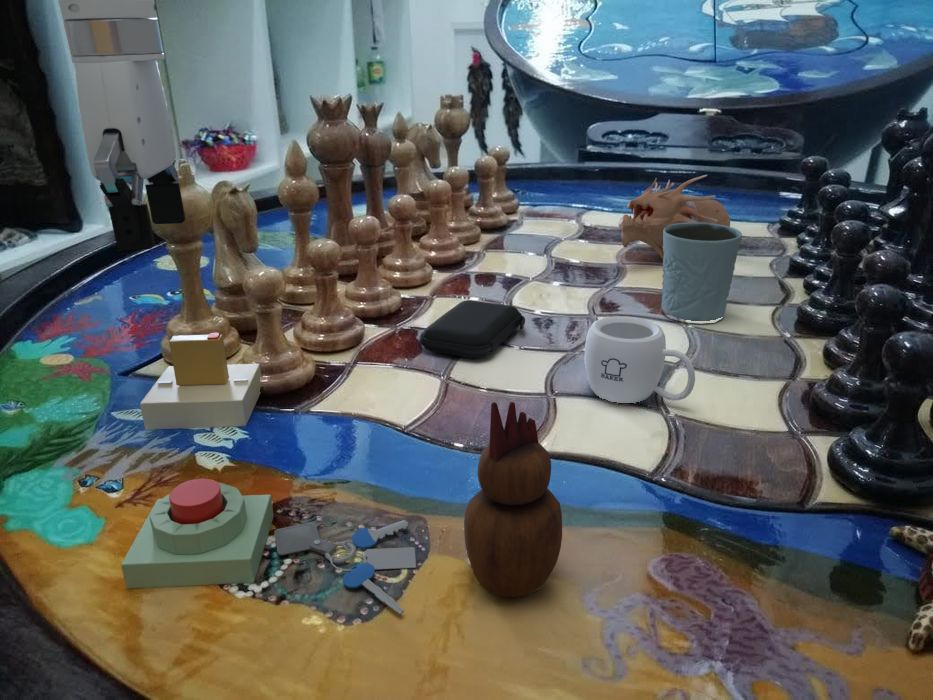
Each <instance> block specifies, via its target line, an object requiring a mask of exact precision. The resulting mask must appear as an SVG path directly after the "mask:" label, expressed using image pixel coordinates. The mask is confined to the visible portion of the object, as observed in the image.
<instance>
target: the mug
mask: <svg viewBox="0 0 933 700" xmlns="http://www.w3.org/2000/svg"><path fill="white" fill-rule="evenodd" d="M666 341H667V340H666V335H665V333H664V330H663V328H662V327H661V326H660V325H659V324H657V323H655V322H653V321H650V320H647V319H645V318H641V317H636V316H627V315H616V316H615V315H614V316H608V317H603V318H599V319H597V320H595V321H593V322H592V323H591V325H590V327H589V329H588V330H587V333H586V338H585V345H584V369H585V374H586V378H587V382H588V384H589V387H590V389H591V390H592V392H593V393H594V394H595V396H597V397H598V396H599V398H600V399H601V398H602V399H601V400H603V399H606V400H608V401H612V402H617V403H616V404H618V403H634V404H637V403H636V402H639V403H641V402H640V401H642V402H644V401H646V400H647V399H648V398H649V397H650V396H651V395H652V394H653V393H654V392H655V393H656V394H658V395H659V396H660V397H662V398H664V399H666V400H670V401H682V400H684V399H686V398H688V397H689V396H690V394H692V391H693V389H694V387H695V382H696V372H695V368H694V366H693V364H692V361H691V359H690V358H689V357H688V356H687V355H686V353H683V352H681V351H680V350H677V349H667V344H666ZM666 357H675V358H677V359H679V360H680V361H682V363H683V364H684V366H685V368H686V371H687V382H686V385H685V387H684V389H683V390H682V391H681V392H679V393H672V392H671V393H670V392H668V391H667V390H665V389H663V388H662V387H661V386H658V385H659V382H660V380H661V377H662V375H663V371H664V367H665V362H666ZM606 400H605V401H606ZM643 400H644V401H643ZM608 401H607V402H608ZM612 402H611V403H612Z"/></svg>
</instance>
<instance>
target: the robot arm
mask: <svg viewBox="0 0 933 700" xmlns="http://www.w3.org/2000/svg"><path fill="white" fill-rule="evenodd" d="M155 2H156V1H155V0H58V3H59V7H60V12H61V17H62V21H63V27H64V31H65V35H66V39H67V45H68V48H69V49H68V50H69V53H70V54H69V55H70V58H71V62H72V64H75V77H76V78H75V79H76V91H77V100H78V108H79V115H80V120H81V127H82V133H83V139H84V145H85V151H86V156H87V160H88V165H89V170H90V173H91V175H92V177H93V178H94V179H95V180H97V181H99V182H100V183H99V188H100V190H101V191H102V193H103V194H104V203H105V205H106V207H107V208H108V212H109V217H110V221H111V225H112V230H113V234H114V239H115V244H116V247H117V249H118V250H119V251H132V250H133V251H134V250H135V251H136V250H151V249H153V248H154V247H155V246H156V241H155V236H154V231H153V226H152V223H153V224H155V225H170V224H171V225H172V224H174V225H175V224H183V223H184V222H185V221H186V215H185V209H184V203H183V196H182V191H181V186H180V183H179V179H180V177H179V172H178V171H177V168H176V166H175V164H176V161H177V160H176V158H177V157H176V156H177V155H176V145H175V144H176V143H175V139H174V138H175V137H174V132H173V126H172V121H171V116H170V112H169V111H170V110H169V107H168V103H167V102H168V101H167V98H166V93H165V89H164V86H163V85H164V84H163V80H162V78H161V74H160V68H159V66H158V62H157V61H162V60H165V59H166V58H165V53H164V47H163V42H162V37H161V36H162V35H161V30H160V25H159V20H158V15H157V8H156V3H155ZM144 180H147V182H148V183H146V184H145V185H144ZM128 183H131V185H130V186H131V187H130V186H129V185H128ZM144 186H145V191H146V197H147V202H148V203H143V197H144V195H143V194H144Z"/></svg>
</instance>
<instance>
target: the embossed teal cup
mask: <svg viewBox="0 0 933 700" xmlns="http://www.w3.org/2000/svg"><path fill="white" fill-rule="evenodd" d="M742 238H743V233H742V232H741V231H740V230H739V229H737V228H735V227H732V226H730V227H729V226H725V225H719V224H713V223H702V222H687V223H678V224H672V225H669V226H667V227H665V228H664V230H663V246H662V248H663V253H664V256H663V259H662V276H661V277H662V282H661V284H662V285H661V286H662V288H661V310H662V309H663V310H664V311H665V312H666V313H668V314H669V315H672V316H674V317H678V318H681V319H684V320H691V321H710V320H716V319H718V318H721V317H723V316H724V317H725V315H724V314H726V309H727V306H728V302H727V300H728V298H729V296H730V291H731V284H732V282H733V277H734V271H735V269H736V262H737V259H738V254H739V250H740V246H741V241H742Z"/></svg>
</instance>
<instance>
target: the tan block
mask: <svg viewBox="0 0 933 700" xmlns="http://www.w3.org/2000/svg"><path fill="white" fill-rule="evenodd" d="M168 343H169V350H170V356H171V361H172V366H173V367H174V373H175V378H176V384H177V386H178V385H210V384H226V382H227V380H228V378H229V374H228V367H227V365H228V361H227V355H226V348H225V347H226V346H225V340H224V335H223V334H221V332H210V333H209V334H184V335H182V334H181V335H179V334H178V335H173V336H172V337H171V338H170V340H169V341H168Z"/></svg>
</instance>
